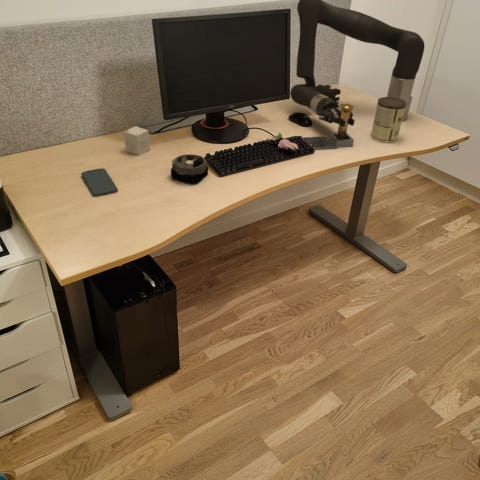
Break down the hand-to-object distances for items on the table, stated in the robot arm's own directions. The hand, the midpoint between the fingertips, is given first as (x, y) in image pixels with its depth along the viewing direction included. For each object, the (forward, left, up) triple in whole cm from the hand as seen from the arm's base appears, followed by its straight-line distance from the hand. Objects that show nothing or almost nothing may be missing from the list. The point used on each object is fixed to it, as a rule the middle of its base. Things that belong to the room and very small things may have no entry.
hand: (348, 123), depth 165 cm
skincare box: (+74, -6, -9) cm, 75 cm away
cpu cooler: (+59, +15, -9) cm, 62 cm away
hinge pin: (+1, -3, -6) cm, 7 cm away
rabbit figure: (+24, -1, -9) cm, 26 cm away
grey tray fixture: (+6, -3, -9) cm, 11 cm away
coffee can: (-19, -6, -9) cm, 21 cm away
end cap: (-11, -47, -9) cm, 49 cm away
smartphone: (+87, +16, -9) cm, 89 cm away
